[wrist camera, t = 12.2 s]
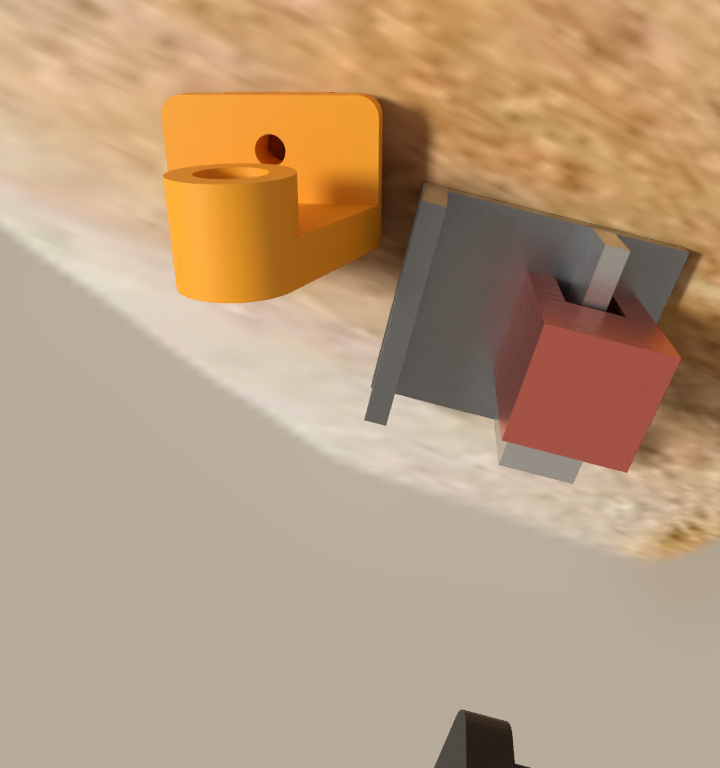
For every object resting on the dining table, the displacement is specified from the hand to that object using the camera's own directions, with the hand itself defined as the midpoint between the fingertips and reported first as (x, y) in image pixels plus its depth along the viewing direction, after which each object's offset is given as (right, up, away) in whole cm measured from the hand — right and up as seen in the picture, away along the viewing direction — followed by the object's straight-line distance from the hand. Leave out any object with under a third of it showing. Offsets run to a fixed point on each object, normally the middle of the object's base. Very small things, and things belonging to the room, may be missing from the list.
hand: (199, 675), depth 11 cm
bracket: (-2, +16, +26) cm, 31 cm away
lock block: (+14, +7, +27) cm, 31 cm away
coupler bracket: (+11, +8, +28) cm, 31 cm away
